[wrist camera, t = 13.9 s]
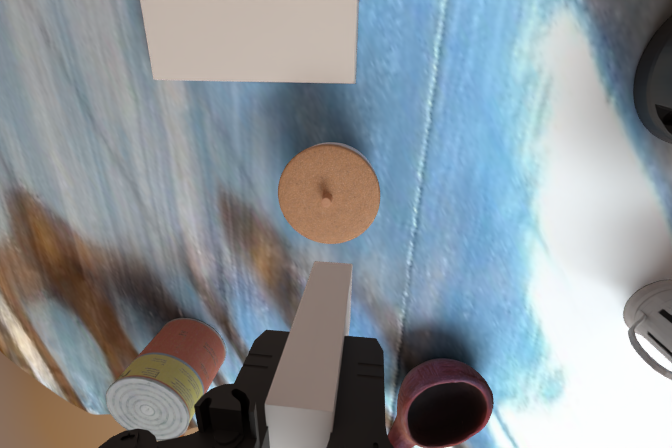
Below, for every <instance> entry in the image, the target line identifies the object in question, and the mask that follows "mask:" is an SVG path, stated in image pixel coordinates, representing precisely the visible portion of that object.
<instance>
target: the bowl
mask: <svg viewBox="0 0 672 448" xmlns="http://www.w3.org/2000/svg"><path fill="white" fill-rule="evenodd" d="M493 404H494V402H493V394H492V391H491V389H490V387H489V385H488V384H487V382H486V381H485V379H484V378H483V377H482V376H481V375H480V374H479V373H478V372H477V371H476V370H475V369H473V368H472V367H470V366H469V365H467V364H465V363H463V362H461V361H458V360H453V359H447V358H438V359H431V360H428V361H426V362H423V363H421V364H419V365H418V366H416V367H414V368H413V369H412V370H411V371H409V373H408V374H407V375H406V376H405V378H404V380H403V382H402V384H401V387H400V390H399V394H398V400H397V416H396V419H395V421H394V423H393V425H392V427H391V429H390V432H389V434H388V438H389V440H390V443H391V444H392V445H393V447H394V448H411V447H413V446H415V445H418V446H420V447H423V448H445V447H450V446H454V445H457V444H460V443H462V442H464V441H466V440H467V439H469V438H470V437H472V436H473V435H475V434H476V433H478V432H479V431H481V430H482V429H483V428H484V427H485V425H486V424H487V422H488V420H489V418H490V416H491V413H492V408H493Z"/></svg>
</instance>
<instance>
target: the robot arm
mask: <svg viewBox="0 0 672 448" xmlns="http://www.w3.org/2000/svg"><path fill="white" fill-rule="evenodd" d="M634 103H635V108H636V111H637V114H638V116H639V118H640V120H641V122H642V123H643V125H644V126H645V127H646V128H647V129H648V130H649V131H650V132H651V133H652V134H653V135H655V136H656V137H658V138H660V139H661V140H664V141H666V142H669V143H672V16H671V17H670V18H669V19H668V20H667V21H666V22H665V23H664V24H663V25H662V26H661V28H660V29H659V30H658V31H657V33H656V34H655V35H654V37H653V38H652V40H651V41H650V43H649V44H648V46H647V48H646V50H645V52H644V54H643V56H642V58H641V60H640V63H639V66H638V69H637V72H636V76H635V82H634ZM351 286H352V264H346V263H332V262H317V261H315V262H314V265H313V267H312V270H311V273H310V276H309V279H308V282H307V285H306V287H305V290H304V293H303V296H302V299H301V302H300V305H299V307H298V310H297V313H296V316H295V319H294V322H293V325H292V327H291V330H290V332H285V331H274V330H266V331H264V332H263V333H262V334H261V335H260V336H259V337H258V338H257V339H256V340H255V341H254V343H253V345H252V347H251V349H250V351H249V354H248V356H247V357H246V360H245V362H244V364H243V367H242V368H241V370H240V372H239V374H238V376H237V378H236V381H235V383H234V384H224V385H221V386H218V387H215V388H213V389H211V390H210V391H208V392H207V393H205V394H204V395H202V396H201V397H200V399H199V400H198V401H197V402H196V404H195V405H194V409H195V414H196V419H197V424H198V429H199V431H197V432H195V433H193V434H190V435H187V436H183V437H178V438H173V439H168V440H163V441H158V442H157V441H156V437H155V435H153V434H152V433H151V432H150V431H149V430H144V429H138V428H137V429H132V430H127V431H124V432H122V433H120V434H117V435H116V436H113V437H111V438H110V439H109V440H107V442H105V443H104V444H102V445H101V446H100V447H99V448H394V447H393V445H392V444H391V443H390V440H389V438H388V436H387V432H386V426H385V393H384V357H383V350H382V348H381V346H380V344H379V343H378V341H377V339H376V338H364V337H353V336H348V335H349V326H350V310H351Z"/></svg>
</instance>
